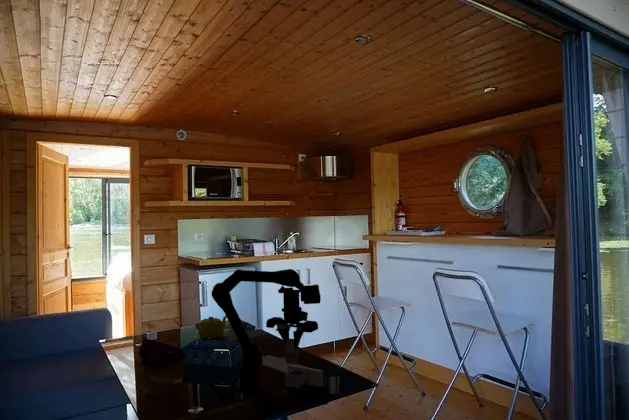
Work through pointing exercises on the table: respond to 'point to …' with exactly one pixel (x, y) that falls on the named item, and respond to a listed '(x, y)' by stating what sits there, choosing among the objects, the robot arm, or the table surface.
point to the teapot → (211, 327)
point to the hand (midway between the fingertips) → (292, 348)
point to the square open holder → (296, 378)
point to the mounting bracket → (156, 351)
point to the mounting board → (310, 375)
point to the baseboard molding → (277, 364)
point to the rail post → (291, 352)
